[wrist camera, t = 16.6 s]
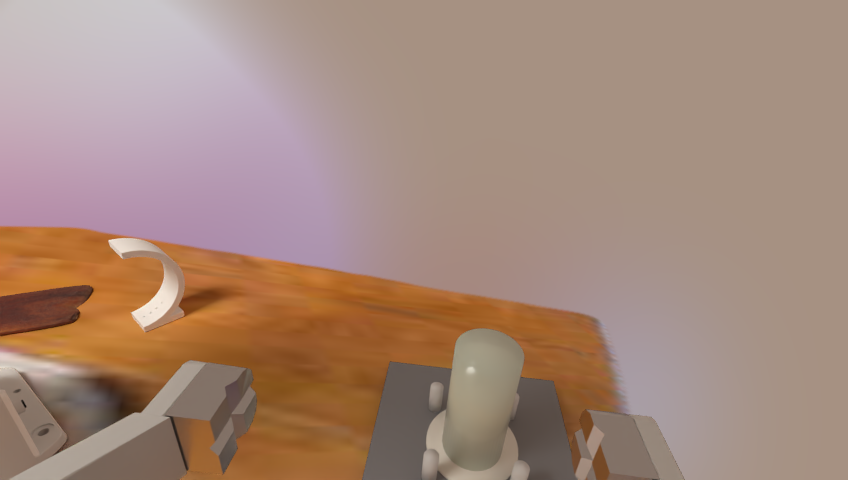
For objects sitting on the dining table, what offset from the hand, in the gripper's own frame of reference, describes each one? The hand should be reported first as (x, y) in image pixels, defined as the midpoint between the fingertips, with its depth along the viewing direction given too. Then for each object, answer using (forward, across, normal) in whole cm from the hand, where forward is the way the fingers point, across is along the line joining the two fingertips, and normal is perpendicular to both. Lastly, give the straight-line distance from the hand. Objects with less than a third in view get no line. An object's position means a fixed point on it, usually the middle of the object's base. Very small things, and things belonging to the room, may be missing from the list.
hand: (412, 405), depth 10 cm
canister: (+21, -5, +28) cm, 35 cm away
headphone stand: (+36, +38, +30) cm, 60 cm away
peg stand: (+21, -5, +30) cm, 37 cm away
